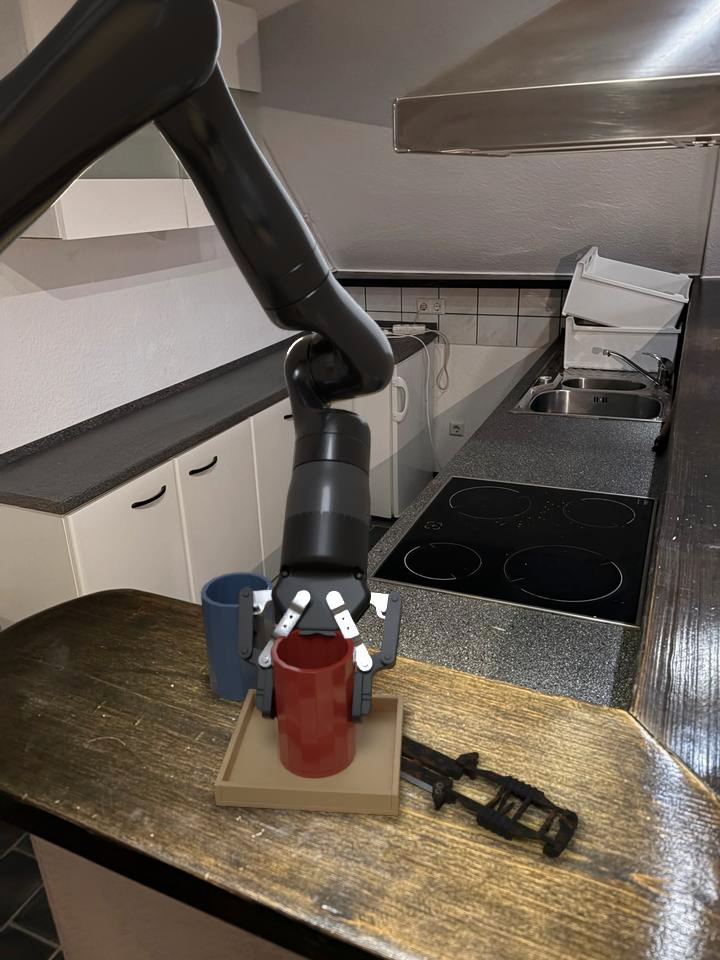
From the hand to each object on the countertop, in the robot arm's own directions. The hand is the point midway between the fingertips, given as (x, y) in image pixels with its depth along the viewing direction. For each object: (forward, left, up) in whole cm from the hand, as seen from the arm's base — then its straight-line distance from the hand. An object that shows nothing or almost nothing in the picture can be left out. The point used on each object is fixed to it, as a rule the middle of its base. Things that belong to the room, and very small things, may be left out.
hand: (312, 719), depth 60 cm
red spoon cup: (0, +2, -4) cm, 5 cm away
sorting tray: (0, +2, -5) cm, 5 cm away
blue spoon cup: (-9, +12, -5) cm, 15 cm away
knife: (+8, 0, -6) cm, 10 cm away
